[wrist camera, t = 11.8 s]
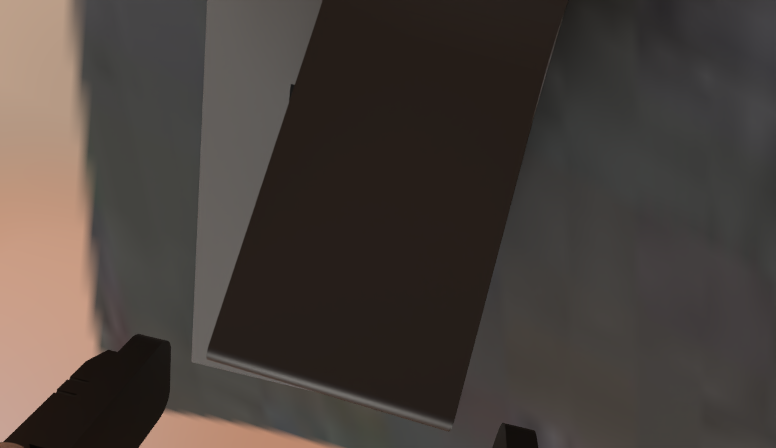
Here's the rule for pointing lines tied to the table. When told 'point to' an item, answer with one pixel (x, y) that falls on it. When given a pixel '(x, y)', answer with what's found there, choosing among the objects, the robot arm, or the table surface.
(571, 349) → the table surface
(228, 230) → the bracket
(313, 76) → the phone stand
